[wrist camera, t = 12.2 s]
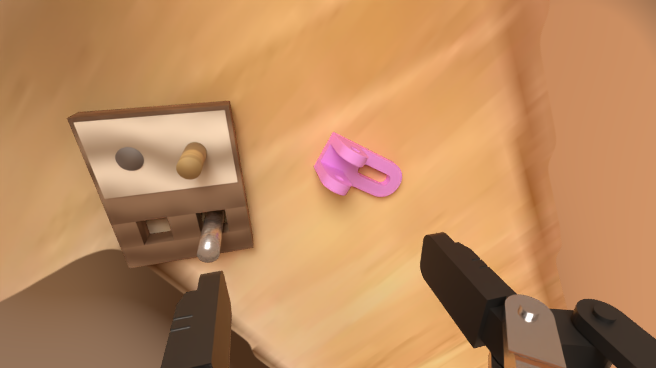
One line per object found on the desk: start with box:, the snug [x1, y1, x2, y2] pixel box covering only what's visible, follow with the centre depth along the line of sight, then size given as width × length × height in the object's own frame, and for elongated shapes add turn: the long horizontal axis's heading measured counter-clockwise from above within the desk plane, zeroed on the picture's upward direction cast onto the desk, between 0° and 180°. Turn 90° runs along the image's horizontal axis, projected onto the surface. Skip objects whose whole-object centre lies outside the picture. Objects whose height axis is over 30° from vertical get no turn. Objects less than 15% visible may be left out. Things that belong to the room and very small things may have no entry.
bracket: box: [314, 132, 402, 197], centre depth 42 cm, size 13×6×7 cm, turn 60°
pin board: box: [67, 101, 253, 268], centre depth 37 cm, size 20×16×8 cm
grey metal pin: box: [197, 210, 224, 263], centre depth 39 cm, size 2×2×9 cm
